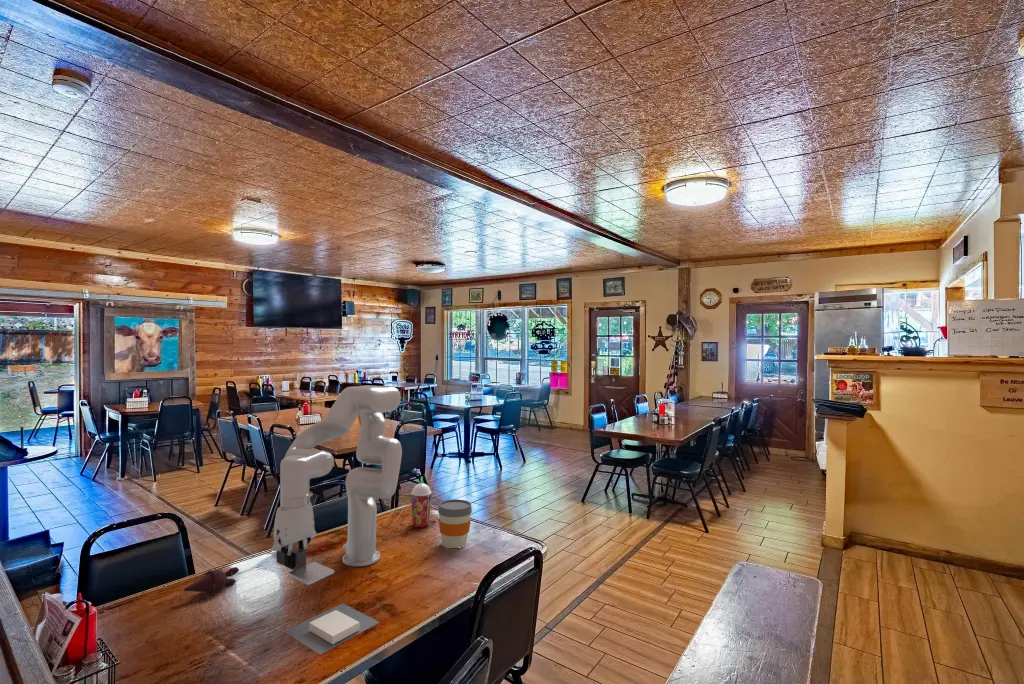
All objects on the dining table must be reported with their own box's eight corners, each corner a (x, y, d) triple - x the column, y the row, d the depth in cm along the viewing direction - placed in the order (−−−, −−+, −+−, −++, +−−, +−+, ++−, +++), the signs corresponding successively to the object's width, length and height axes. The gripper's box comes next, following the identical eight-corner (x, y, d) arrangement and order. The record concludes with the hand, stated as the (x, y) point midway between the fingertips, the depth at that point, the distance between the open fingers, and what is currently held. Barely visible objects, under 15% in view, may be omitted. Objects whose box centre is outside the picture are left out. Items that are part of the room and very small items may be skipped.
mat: (283, 633, 132) (283, 631, 132) (342, 605, 147) (342, 603, 147) (320, 657, 123) (320, 654, 123) (379, 624, 137) (379, 622, 137)
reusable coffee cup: (453, 535, 201) (454, 497, 201) (477, 543, 194) (478, 503, 194) (430, 545, 191) (431, 505, 191) (455, 554, 184) (456, 512, 184)
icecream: (192, 585, 143) (245, 571, 156) (181, 571, 148) (234, 558, 160) (186, 608, 144) (240, 592, 156) (175, 593, 148) (228, 579, 160)
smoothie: (434, 523, 213) (435, 475, 213) (423, 530, 206) (424, 480, 206) (418, 520, 217) (419, 473, 217) (406, 526, 209) (407, 477, 209)
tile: (309, 622, 132) (332, 636, 126) (335, 609, 139) (359, 622, 133) (309, 631, 132) (332, 645, 126) (335, 618, 139) (359, 631, 133)
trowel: (268, 565, 145) (267, 548, 145) (293, 555, 152) (293, 538, 152) (308, 585, 134) (308, 566, 134) (334, 573, 141) (334, 555, 141)
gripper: (312, 490, 153) (312, 551, 153) (259, 506, 139) (259, 572, 140) (328, 495, 149) (328, 558, 149) (275, 512, 135) (275, 580, 136)
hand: (295, 564), depth 145 cm, fingers closed on trowel, 2 cm apart
